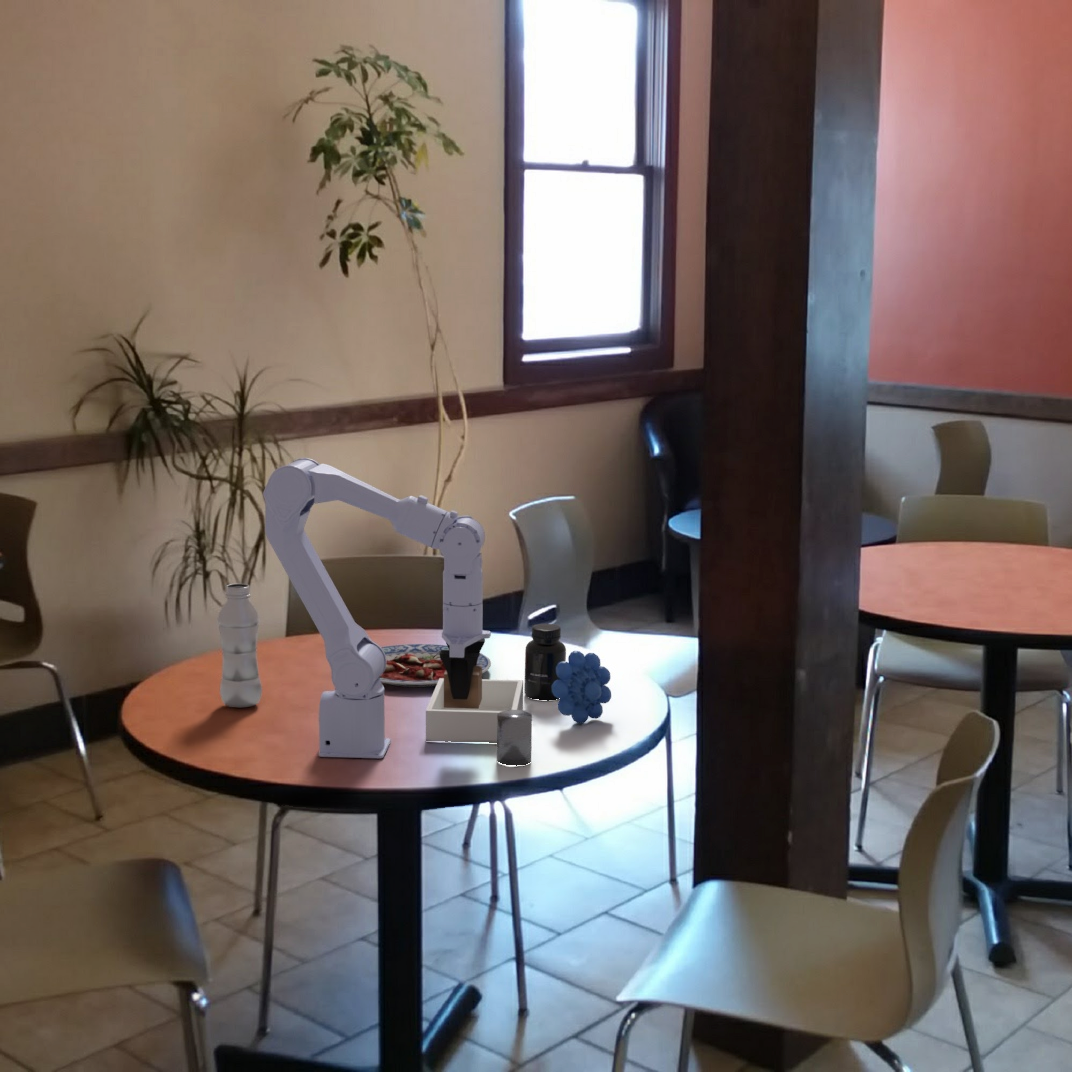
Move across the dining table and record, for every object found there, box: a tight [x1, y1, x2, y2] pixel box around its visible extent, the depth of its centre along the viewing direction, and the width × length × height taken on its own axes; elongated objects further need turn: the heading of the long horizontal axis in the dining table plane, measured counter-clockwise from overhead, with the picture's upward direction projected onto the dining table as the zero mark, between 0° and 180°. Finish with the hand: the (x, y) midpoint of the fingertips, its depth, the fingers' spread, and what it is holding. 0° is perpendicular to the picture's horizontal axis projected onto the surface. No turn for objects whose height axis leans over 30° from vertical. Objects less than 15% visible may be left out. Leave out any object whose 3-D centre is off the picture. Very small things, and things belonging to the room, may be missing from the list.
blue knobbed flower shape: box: [552, 650, 612, 724], centre depth 221 cm, size 12×7×12 cm, turn 127°
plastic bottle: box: [217, 583, 263, 708], centre depth 228 cm, size 6×7×20 cm
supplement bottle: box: [523, 623, 567, 702], centre depth 236 cm, size 7×7×12 cm
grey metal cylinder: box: [496, 710, 533, 766], centre depth 204 cm, size 5×5×7 cm
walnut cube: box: [444, 666, 483, 709], centre depth 206 cm, size 5×5×5 cm
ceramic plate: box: [380, 643, 492, 688], centre depth 250 cm, size 26×26×3 cm
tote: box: [425, 678, 524, 743], centre depth 220 cm, size 14×18×5 cm
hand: (462, 693), depth 206 cm, fingers closed on walnut cube, 5 cm apart
